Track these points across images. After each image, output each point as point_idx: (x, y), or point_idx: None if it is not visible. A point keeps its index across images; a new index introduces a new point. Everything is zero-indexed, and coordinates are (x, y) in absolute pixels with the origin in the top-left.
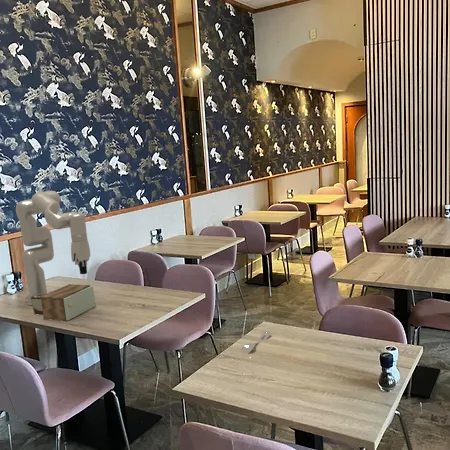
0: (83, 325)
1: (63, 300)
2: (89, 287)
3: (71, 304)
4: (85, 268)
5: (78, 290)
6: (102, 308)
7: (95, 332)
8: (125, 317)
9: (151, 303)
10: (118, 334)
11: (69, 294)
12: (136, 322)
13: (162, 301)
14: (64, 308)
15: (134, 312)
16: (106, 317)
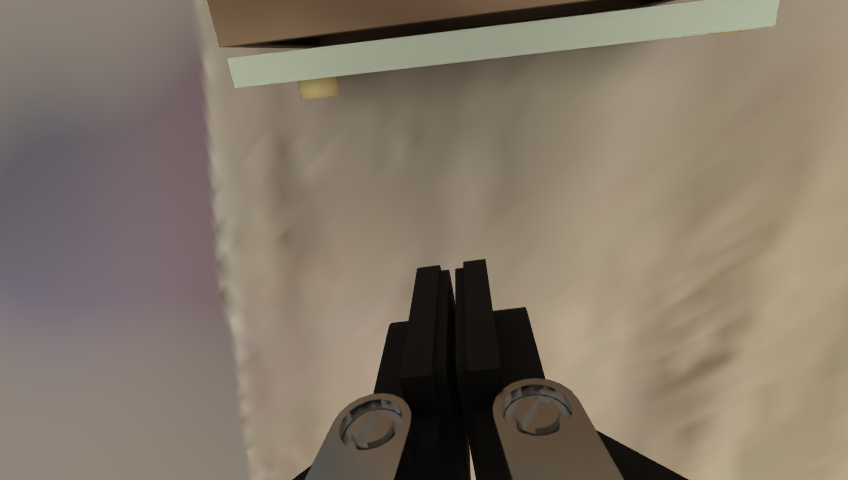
0: (300, 242)
1: (243, 46)
2: (697, 31)
3: (322, 97)
4: (468, 453)
5: (520, 6)
6: (614, 132)
7: (258, 369)
8: None
9: (741, 391)
10: (290, 469)
11: (347, 23)
12: None
13: (781, 429)
14: (276, 47)
15: (570, 385)
16: None
